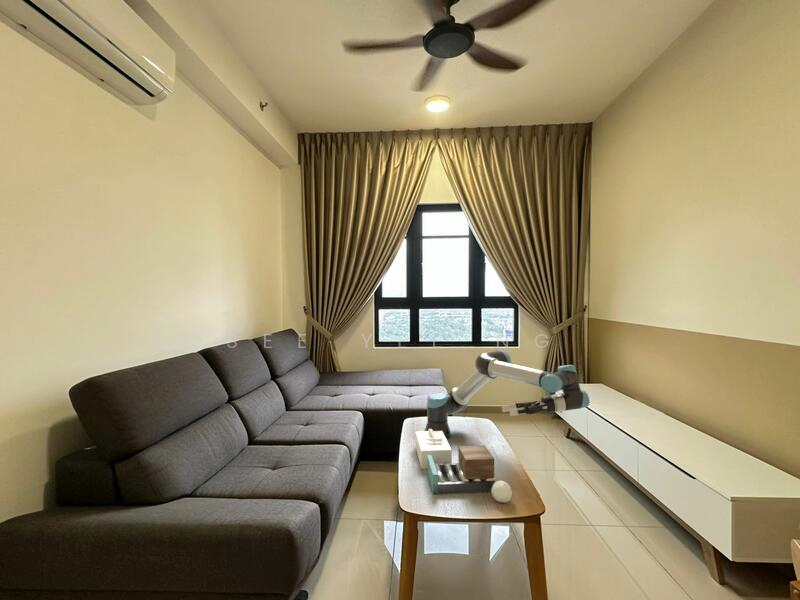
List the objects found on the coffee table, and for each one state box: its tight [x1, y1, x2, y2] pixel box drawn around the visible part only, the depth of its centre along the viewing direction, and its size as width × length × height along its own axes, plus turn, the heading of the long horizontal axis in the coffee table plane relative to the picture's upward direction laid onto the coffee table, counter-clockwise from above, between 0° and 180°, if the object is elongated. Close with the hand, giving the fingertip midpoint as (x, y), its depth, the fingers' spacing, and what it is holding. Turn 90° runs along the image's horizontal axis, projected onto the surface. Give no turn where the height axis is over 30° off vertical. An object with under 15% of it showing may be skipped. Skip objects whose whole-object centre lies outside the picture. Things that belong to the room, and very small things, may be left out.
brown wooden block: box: [457, 445, 495, 480], centre depth 159 cm, size 14×12×8 cm
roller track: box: [426, 462, 501, 495], centre depth 159 cm, size 19×28×4 cm, turn 93°
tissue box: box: [414, 429, 453, 470], centre depth 184 cm, size 14×25×11 cm, turn 4°
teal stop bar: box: [426, 455, 439, 495], centre depth 158 cm, size 19×2×8 cm, turn 3°
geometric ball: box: [490, 480, 513, 504], centre depth 143 cm, size 8×8×8 cm
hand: (505, 411), depth 165 cm, fingers open, 13 cm apart
